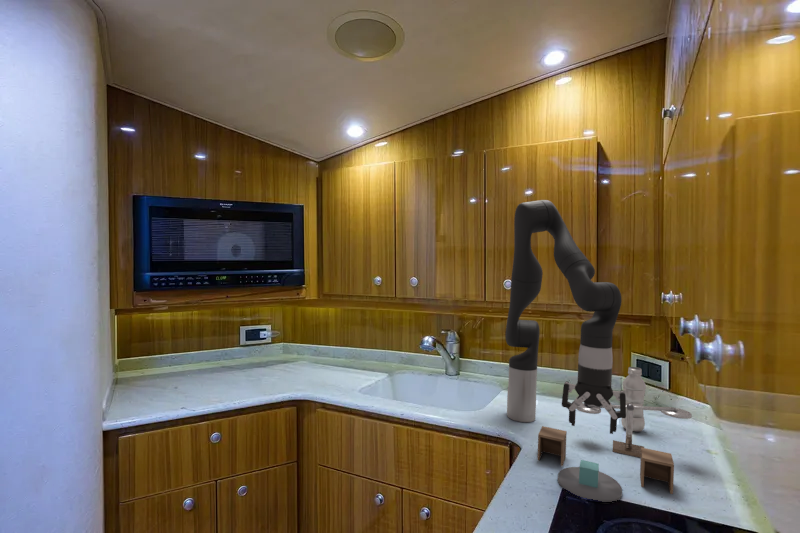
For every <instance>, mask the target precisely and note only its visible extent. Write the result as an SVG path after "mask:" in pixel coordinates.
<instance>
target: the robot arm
mask: <svg viewBox="0 0 800 533" xmlns="http://www.w3.org/2000/svg"><path fill="white" fill-rule="evenodd" d="M513 221H514V223H513V224H514V229H513V230H514V234H513V236H514V237H513V238H514V239H513V240H514V242H513V243H514V246H513V247H514V250H513V251H514V252H513V260H512V270H511V277H510V278H511V280H510V293H509V294H510V298H509V307H508V313H507V319H506V324H505V325H506V328H505V334H504V335H505V341H506V345H507V346H510V347H513V348H527V349H525V351H523V352H522V353H519V354H515V355H513V356H511V357H510V358H509V360H508V381H507V383H508V386H507V396H506V397H507V399H506V400H507V401H506V413H507V415H506V416H507V417H508V418H509V419H510V420H512V421H515V422H519V423H531V422H534V421H535V420H536V415H537V413H536V412H537V410H536V409H537V387H538V386H537V383H538V382H537V380H538V377H537V376H538V361H539V360H538V358H539V357H538V356H539V346H540V344H539V343H540V325H539V323H538V321H536V320H532V319H531V320H530V319H528V320H527V319H520V317H521V315H522V314H523V312H524V310H526V308H527V307H528V306H530V304H531V303H533V301H534V300H535V299H536V298H537V297H538V296H539V294H540V292H541V289H542V283H543V281H542V280H543V275H544V274H543V268H542V266H541V264H540V262H539V260H538V259H537V257H536V256H535V254H534V253H533V250H532V244H531V243H532V241H531V239H532V235H533V234H537V233H541V232H547V233H549V234H550V235H551V236H552V238H553V240H554V247H553V257H554V259H553V260H554V262H555V264H556V266H557V267H558V269H559V270H560V272H561V274H563V276H564V278H566V280H567V282H568V285H569V289H570V291H571V294H572V297H573V300H574V302H575V304H576V305H577V307H579V308H581V310H583V311H586V312H589V313H590V312H593V315H592V317H591V318H590V319H586V320H585V321H583V322H582V323H581V326H580V327H581V328H580V340H579V341H580V342H579V343H580V345H579V350H578V360H577V361H578V363H577V364H578V365H577V383H576V384H573V383H570V382H569V381H564V384H563V388H562V395H561V396H562V398H561V407H562V408H566V409H568V422H569V423H570V424H571V426H572V427H575V425H576V415H577V414H576V413H577V409H576V408H577V407H578V406H580V405H581V404H582V403H586V404H587V405H595V406H598V407H600V406H604V408H603V409H605V411H606V412H607V413H608V414H609V416H610V417H609V418H610V420H609V434H610V435H614V433H616V432H617V425H618V422H617V421H618V419H622V418H626V394H625V391H623V389H621V390H619V391H618V390H613V388H612V379H613V378H612V377H613V364H614V362H613V360H614V359H613V332H614V331H613V330H614V327H615V326H616V323H617V319H618V317H619V313H620V310H621V306H622V300H623V299H622V293H621V291H620V288H619V287H618V286H617V285H616V284H614V283H612V282H607V281H604V282H603V281H602V282H595V281H593V280H592V279H594V277H595V274H596V270H595V267H594V266H593V264H592V263H591V262H590V260H589V259H588V258H587V256H586V255H585V254H584V253H583V251H582V250H581V249H580V247H578V245H577V244H576V242H575V240H574V238H573V237H572V235H571V233H570V230H569V228H568V227H567V225H566V223H565V221H564V220H563V217H562V216H561V213H560V211H559V210H558V208H557V207H556V206H555V204H554V203H553V202H552V201H551V200H548V199H539V200H532V201H526V202H521V203H519V204H518V205H517V207H516V208H515V211H514V220H513ZM573 390H574V391H575V392H576V393H577V397H576V398H575V399H574V400H573V401H572V402H570V401H569V394H570V393H572V391H573ZM613 396H614V397H615V399H616V401H618V402H619V405H620V409H619V410H616V409H614V408H613V406H612V405H613V404H612V403H611V401H610V400H611V399H612V397H613Z"/></svg>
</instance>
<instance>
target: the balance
mask: <svg viewBox="0 0 800 533" xmlns="http://www.w3.org/2000/svg"><path fill="white" fill-rule="evenodd" d="M612 406H613V408H614V409H615V410H616V409H618V410H620V404H612ZM602 409H605V408H604V406H600V407H598V406H595V405H587V404H586V403H584V402H583V403H582V404H581V405H580V406H578V407H577V408H576V411H578V412H580V413H585V414H590V415H591V414H592V415H595V414H601V413H602ZM626 409H627V420H626V429H625V442H623V441H620V440H616V439H615V440H612V453H617V454H621V455H627V456H631V457H635V458H636V457H637V458H640V459H641V447H642V448H645V446H644V445H639V444H634V443H633V432H634V431H633V410H643V411H656V412H657V411H659V412H661V414H663V415H666V416H669V417H670V418H671V417H672V418H676V419H681V420H682V419H684V420H688V419H691V418H692V413H691V412H690V411H688V410H686V409H683V408H678V407H672V406H649V405H647V406H646V405H645V406H644V405H643V406H633V405H632V404H627V405H626Z"/></svg>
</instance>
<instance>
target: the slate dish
mask: <svg viewBox="0 0 800 533" xmlns="http://www.w3.org/2000/svg"><path fill="white" fill-rule="evenodd" d="M579 469H580V466H572V467H571V466H570V467H568V466H567V467H565V468H562V469H561V470H559V472H558V473H557V483H558V484H559V486H560V487H561V489H563V488H564V489H566V490H568V491H570V492H571V493H573V494H575V495H577V496H580V497H583V498H587V499H593V500H598V501H602V502H612V501H616V502H618V501H619V500H620V499H622V496H623V487H622V486H621V484H620V483H619V482H618V480H616V479H615V478H614V477H611V475H609V474H606V473H604V472H602V471H599V472H598V488H596V487H592V486H588V485H584V484H580V483H579ZM564 489H563V490H564ZM617 500H618V501H617ZM612 503H613V502H612Z"/></svg>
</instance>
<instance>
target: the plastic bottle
mask: <svg viewBox="0 0 800 533" xmlns="http://www.w3.org/2000/svg"><path fill="white" fill-rule="evenodd" d="M642 372H643V371H642V368H640V367H636V366H629V367H628V371H627V374H628V375H627V376H626V377H625V378H624V379H623V381H622V390H623V391H625V394H626V405H627V404H632V405H633V406H644V399H645V394H646V388H647V385H646V382H645V381H644V379H643V377H642V376H643V374H642ZM620 420H621V425H622V427H623V428H624V429H625V430H626V420H627V409H626V418H620ZM645 424H646V423H645V417H644V410H633V431H632V432H636V433H639V432H643V430H644V429H645Z"/></svg>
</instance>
